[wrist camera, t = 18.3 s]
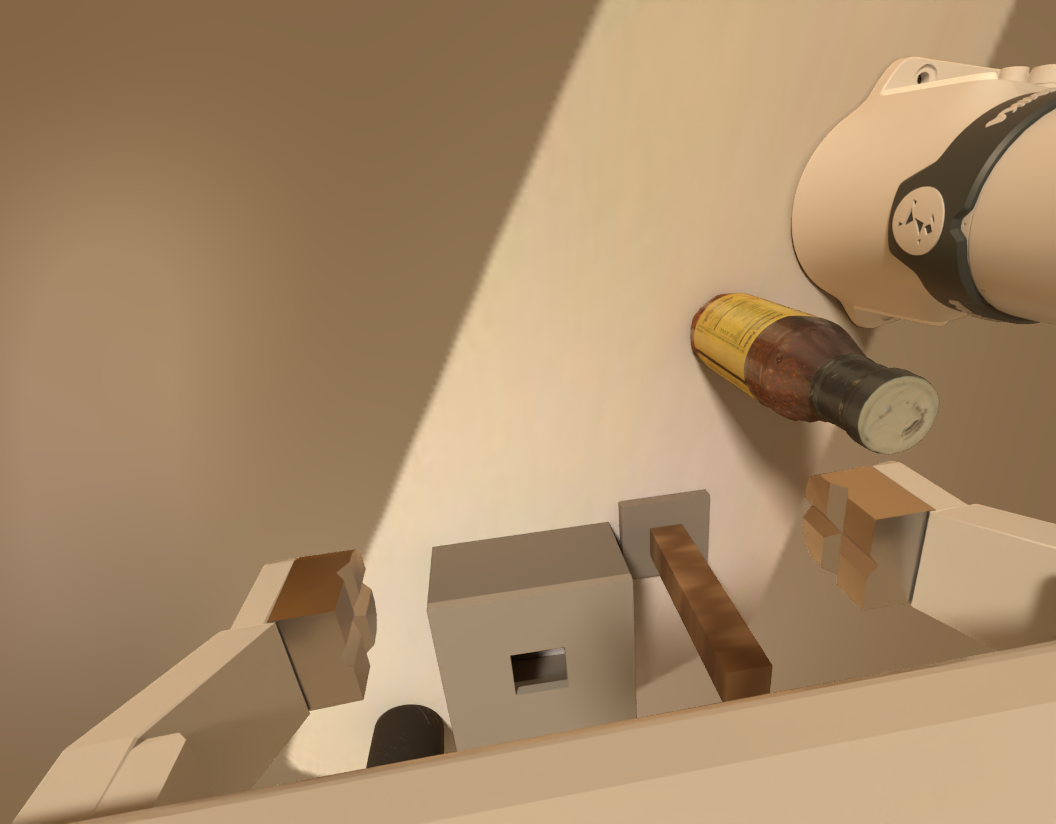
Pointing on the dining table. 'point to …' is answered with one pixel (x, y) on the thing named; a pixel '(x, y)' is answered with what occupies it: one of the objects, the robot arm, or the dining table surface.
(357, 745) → the dining table surface
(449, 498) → the dining table surface
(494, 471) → the dining table surface
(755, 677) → the brown wooden bar
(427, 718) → the travel mug
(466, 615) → the box
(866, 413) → the sauce bottle
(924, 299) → the robot arm
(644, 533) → the pad
